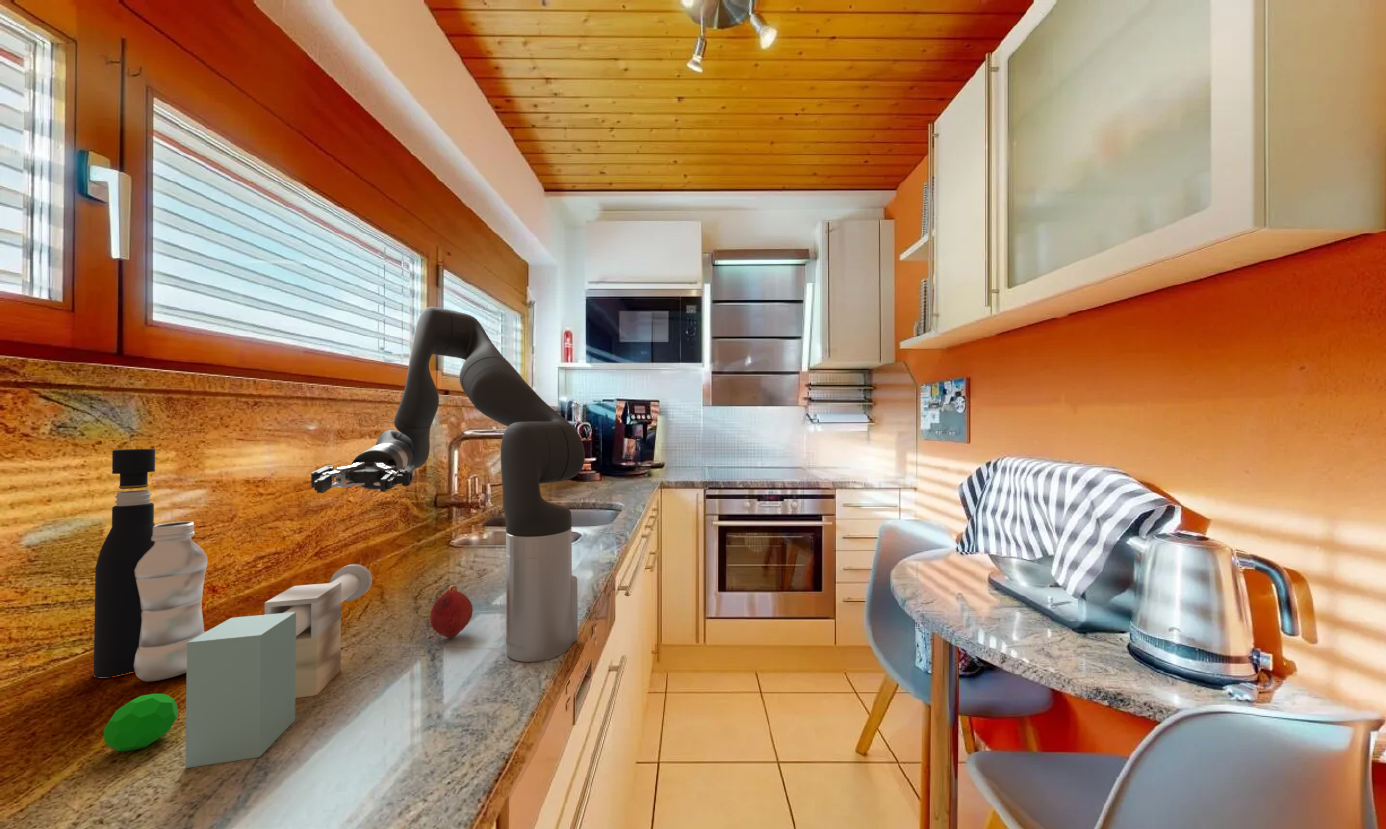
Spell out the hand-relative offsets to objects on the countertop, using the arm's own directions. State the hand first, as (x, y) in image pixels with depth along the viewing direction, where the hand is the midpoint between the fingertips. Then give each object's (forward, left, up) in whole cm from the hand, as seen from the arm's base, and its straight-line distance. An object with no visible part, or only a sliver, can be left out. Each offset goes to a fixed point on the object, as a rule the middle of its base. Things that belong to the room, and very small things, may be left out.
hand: (351, 486), depth 75 cm
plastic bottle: (+19, -5, -23) cm, 30 cm away
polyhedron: (+22, +13, -24) cm, 35 cm away
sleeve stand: (+9, +13, -23) cm, 28 cm away
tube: (+7, +10, -17) cm, 21 cm away
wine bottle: (+22, -13, -23) cm, 34 cm away
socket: (+16, +21, -23) cm, 35 cm away
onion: (-8, +15, -23) cm, 29 cm away
